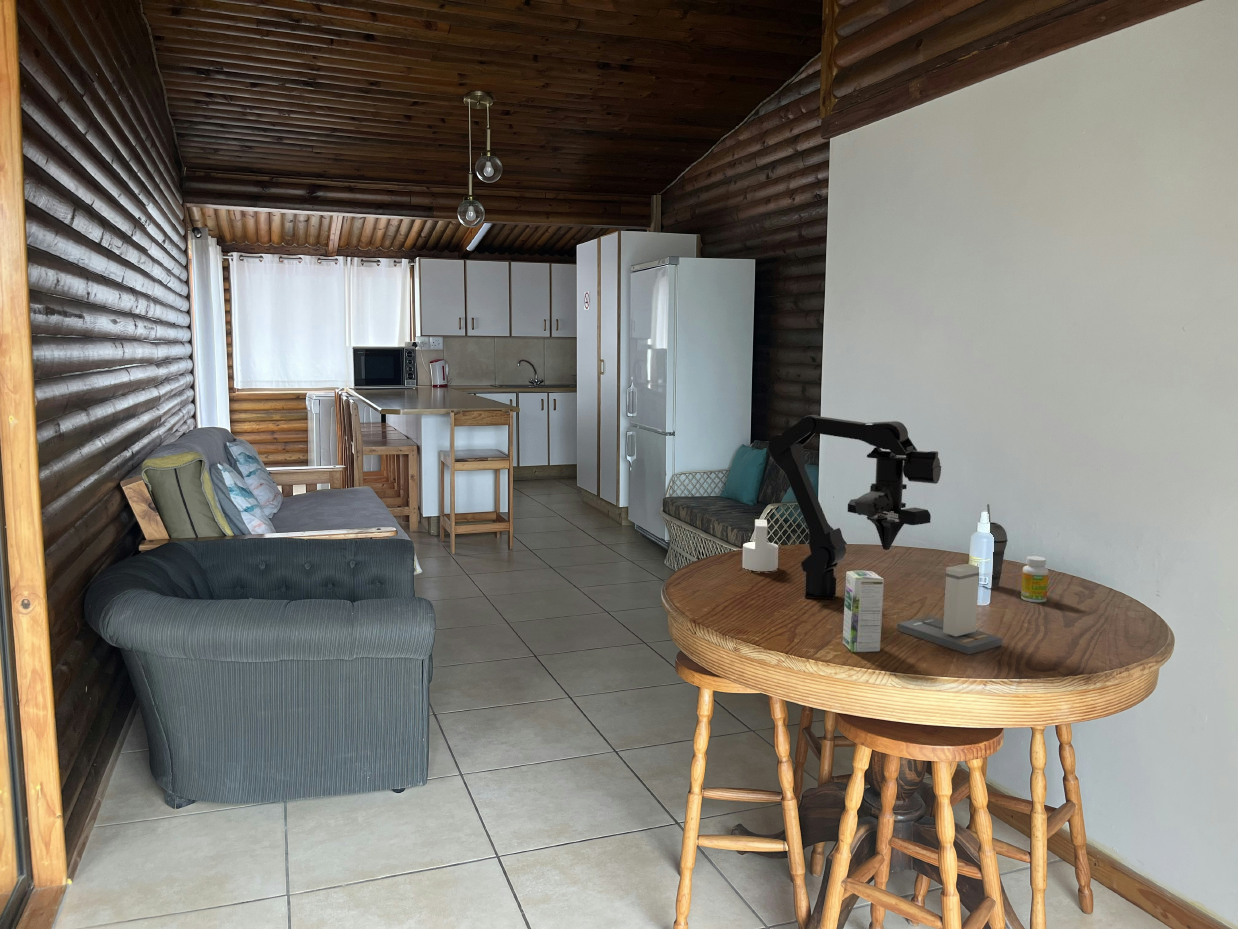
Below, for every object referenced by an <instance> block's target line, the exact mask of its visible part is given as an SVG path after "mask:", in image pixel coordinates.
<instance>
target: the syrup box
mask: <svg viewBox="0 0 1238 929" xmlns="http://www.w3.org/2000/svg"><path fill="white" fill-rule="evenodd" d="M845 574H846V575H845V590H844V592H845V594H844V608H843V609H844V610H843V627H842V628H843V629H842V630H843V631H842V644H843V645H844V646H845V647H846V648H848V649H849V650H850V652H851V653H871V652H880V651H881V639H882V623H883V622H882V620H883V604H884V584H885V579H884V578H883V577H881V576H880V575H878V573H876V572H874V571H871V570H850V571H846V573H845Z"/></svg>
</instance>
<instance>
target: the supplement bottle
mask: <svg viewBox="0 0 1238 929" xmlns="http://www.w3.org/2000/svg"><path fill="white" fill-rule="evenodd" d="M1025 563H1026V564H1027V565H1025V566H1023V567H1022V571H1021V572H1022V574H1021V588H1020V589H1021V590H1020V598H1021V599H1022V600H1024V601H1026V602H1030V603H1045V602H1046V601H1047V598H1048V597H1047V596H1048V583H1049V570H1048V568H1047V567H1045V566H1046V564H1047V559H1046V558H1045V557H1043V556H1036V555H1035V556H1033V555H1031V556H1030V555H1028V556H1026V562H1025Z"/></svg>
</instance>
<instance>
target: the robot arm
mask: <svg viewBox="0 0 1238 929" xmlns="http://www.w3.org/2000/svg"><path fill="white" fill-rule="evenodd" d="M815 434H818V435H825V436H831V437H838V438H844V439H851V440H858V441H861V442H863V443H865V444H868V445H870V446H873V447H874V448H873V449H872V450H871V451H870V452H869V453H868V454H866V458H868V459H876V460H875V461H876V462H875V483H871V485H870V488H869V491H868V492H867V493H864V494H862V495H860V497H858V498H857V497H856V498H854V499H853V498H852V499H850V500H849V502H848V503H847V513H851V514H857V515H858V516H866V519H867V520H868V521H870V522H871V523H872V524H873V525H874V526H875V529H876V532H877V534H878V537H879V540H880V544H881V546H882V549H883V550H884V551H889V550H890V549H891V547H892V546H893V543H894V541H895V540H896V538H897V535H898V534H899V533H900V531H901V529H902V528H903V526H904V525H909V526H919V525H925V524H931V520H932V519H931V518H932V516H931V512H930V511H929V510H928V509H925V508H920V507H908V508H906V507H907V506H906V505H907V503H906V502H903V490H907V486H908V484H906V483H904V478H905V479H906V478H907V481H908V482H913V483H923V484H924V483H925V484H933V485H934V484H935V485H936V484H938V483H939V481H940V478H941V475H942V474H941V473H942V465H941V461H940V458H939V452H938V451H937V450H936V451H935V450H934V451H933V450H931V451H922V450H921V451H920V450H918V449H917V447H916V446H915V444H914V442H912V439H911V438H910V437H909V432H908V429H907V427H906V425H905V424H904V423H902V422H901V421H896V420H895V421H894V420H893V421H877V422H876V421H875V422H862V421H855V420H848V419H841V418H833V417H826V416H820V415H818V414H811V415H806V416H803V417H802V418H801V419H800V420H799V421H798V422H797V423H795V424H794V425H792V426H790V427H789V428H788V429H786V430H785V431H784V432H782V433H780V434H776V435H774V436H772V437H771V438H770V439H769V440H768V444H767V452H768V453H769V455H770V457H771V458H772V460H773V461H774V463H775V465H776V466H777V467H778V468H779V469H780V470H781V471H782V472H783V473H784V475H785V476H786V480H787V482H788V484H789V485H790V489H791V491H792V494H793V496H794V498H795V501H796V503H797V506H798V508H799V511H800V513H801V516H802V517H803V520H804V523H805V525H806V528H807V529H808V530H807V531H808V547H809V552H810V555H808V556H807V557H806V558H805V559H804V560H802V561H801V562H800V565H801V568H802V571H803V573H805V588H804V598H806V599H820V600H834V598H835V596H836V594H837V575H836V574H835V568H837V566H838V564H839V562H840V561H842V560H843V559H844V557H845V556H846V553H847V549H846V545H847V544H848V543H847V542H846V541H845V539H844V537H843V534H842V530H841V528H840V527H838V528H835V529H834V528H833V527H832V526H831V525H830V524H829V523H828V520H827V518H826V515H825V513H824V511H823V508H822V506H821V503H820V501H819V498H818V496H817V494H816V491H815V489H814V486H813V483H812V482H811V479H810V476H809V474H808V472H807V469H806V466H805V459H806V458H805V456H806V455H805V450H804V445H806V443H808V442H809V441H811V438H813V437H814V435H815Z"/></svg>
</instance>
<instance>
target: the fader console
mask: <svg viewBox="0 0 1238 929" xmlns="http://www.w3.org/2000/svg"><path fill="white" fill-rule="evenodd" d="M943 623H944V618H943V619H942V618H939V617H935V616H932V615H925V616H922V617H918V618H914V619H909V620H906V621H901V622H897V625H896V630H897V631H898V632H901V633H904V634H906V635H910V636H912V637H915V638H918V639H920V640H925V641H927V642H931V643H933V644H936V645H939V646H942V647H946V648H948V649H950V650H953V651H957V652H959V653H963V654H966V655H972V654H975V653H980V652H983V651H986V650H990V649H993V648H997V647H1001V646H1002V644H1003V637H1001V636H997V635H994V634H991V633H988V632H985V631H981V630H978V629H976V631H975V632H971V633H968V634H964V635H960V636H953V635H950V634H946V633H943Z"/></svg>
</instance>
